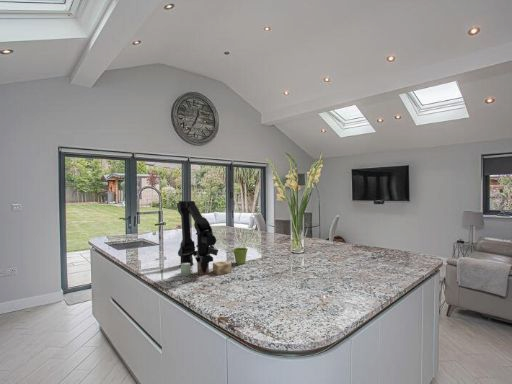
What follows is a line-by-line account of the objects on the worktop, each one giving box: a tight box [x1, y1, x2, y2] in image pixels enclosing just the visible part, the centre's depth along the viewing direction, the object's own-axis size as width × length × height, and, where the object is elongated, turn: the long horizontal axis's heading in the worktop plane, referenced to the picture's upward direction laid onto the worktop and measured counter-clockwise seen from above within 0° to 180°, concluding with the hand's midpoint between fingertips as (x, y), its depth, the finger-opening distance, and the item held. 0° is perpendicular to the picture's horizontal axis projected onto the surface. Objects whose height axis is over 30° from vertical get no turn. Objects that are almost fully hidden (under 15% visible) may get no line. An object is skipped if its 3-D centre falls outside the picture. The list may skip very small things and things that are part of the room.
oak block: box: [212, 260, 232, 276], centre depth 166 cm, size 8×8×5 cm
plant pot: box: [232, 247, 249, 265], centre depth 184 cm, size 9×9×9 cm
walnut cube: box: [196, 261, 210, 276], centre depth 164 cm, size 5×5×6 cm
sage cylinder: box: [180, 263, 191, 277], centre depth 161 cm, size 5×5×6 cm
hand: (203, 271), depth 164 cm, fingers closed on walnut cube, 5 cm apart
